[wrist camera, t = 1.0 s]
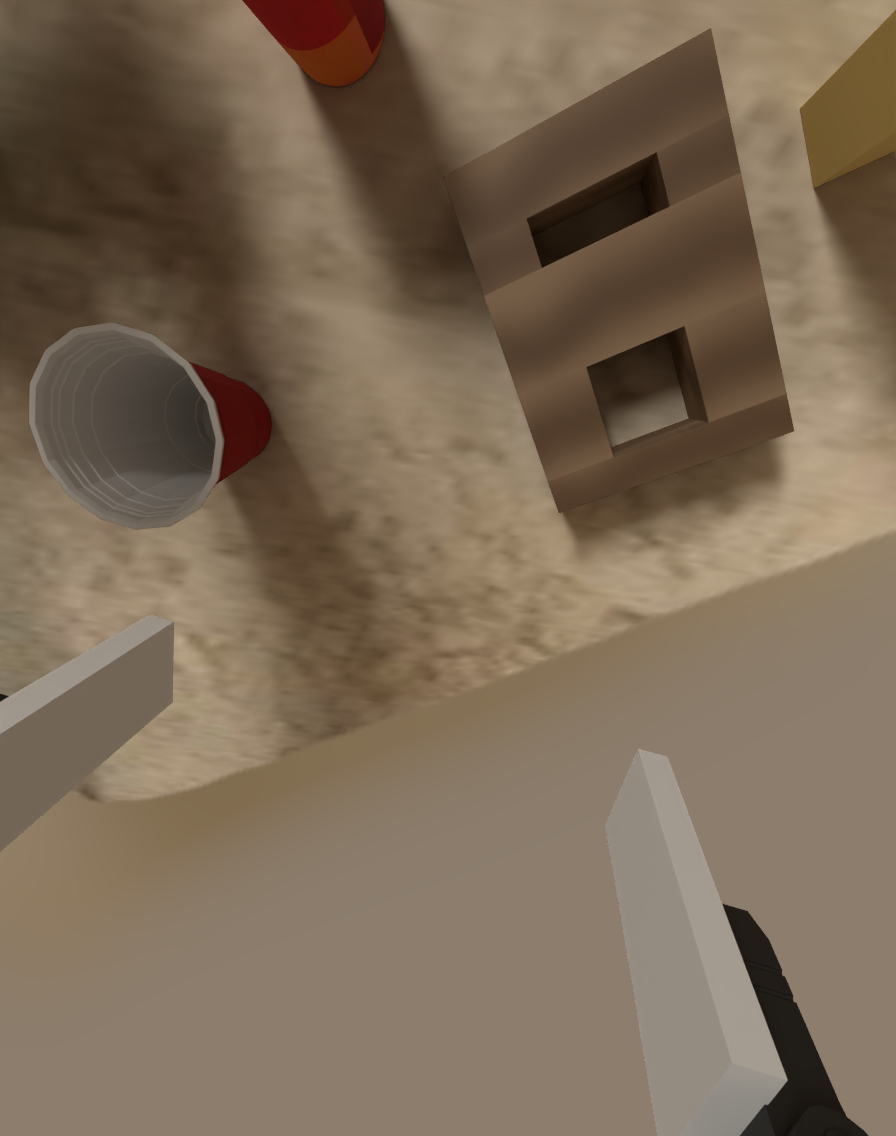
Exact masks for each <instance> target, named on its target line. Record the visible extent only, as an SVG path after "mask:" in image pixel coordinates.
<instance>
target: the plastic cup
mask: <svg viewBox="0 0 896 1136" xmlns="http://www.w3.org/2000/svg"><path fill="white" fill-rule="evenodd" d="M29 424H30V427H31V430H32V433H33V436H34V438H35V441H36V444H37V447H38V450H39V453H40V456H41V458H42V461H43V463H44V465H45V466H46V467H47V469H48V470H49V471H50V473H51V474H52V475H53V477H54V478H55V479H56V481H57V482H58V483H59V485H60V486H61V487H62V488H63V490H64V491H65V492H66V494H67V495H68V496H69V497H70V498H72V499H73V500H75V501H76V502H77V503H79V504H80V505H82V506H83V507H84V508H86V509H87V510H89V511H90V512H91V513H93V514H94V515H96V516H97V517H98V518H100V519H102V520H105V521H109V522H112V523H116V524H119V525H122V526H126V527H129V528H132V529H136V530H138V529H148V528H158V527H168V526H172V525H174V524H175V523H177V522H179V521H180V520H182V519H184V518H185V517H187V516H189V515H190V514H192V513H194V512H195V511H197V510H199V509H200V507H201V506H202V505H203V503H204V502H205V500H206V498H207V497H208V495H209V494H210V492H211V490H212V489H213V488H214V486H215V485H216V484H217V483H219V482H220V481H222V480H223V479H225V478H226V477H228V476H229V475H231V474H232V473H234V472H235V471H237V470H238V469H240V468H241V467H243V466H244V465H246V464H247V462H248V461H250V460H251V459H253V458H254V457H256V456H258V455H259V454H261V452H262V451H263V449H264V448H265V446H266V445H267V443H268V441H269V440H270V435H271V428H272V422H271V418H270V413H269V409H268V407H267V406H266V404H265V402H264V401H263V399H262V397H261V396H260V395H259V394H258V393H257V392H255V391H254V390H253V389H252V388H250V387H249V386H248V385H246V384H245V383H243V382H240V381H237V380H234V379H231V378H228V377H227V376H226V375H224V374H221V373H218V372H215V371H213V370H210V369H207V368H204V367H202V366H199V365H196V364H193V363H191V362H188V361H186V360H185V359H184V358H182V357H181V356H180V355H179V354H177V353H176V352H175V351H173V350H172V349H171V348H170V347H168V346H167V345H166V344H165V343H163V342H162V341H161V340H159V339H158V338H157V337H156V336H154V335H153V334H149V333H146V332H143V331H140V330H136V329H133V328H130V327H126V326H123V325H120V324H116V323H113V322H111V323H104V324H98V325H91V326H84V327H77V328H74V329H72V330H71V331H70V332H68V333H67V334H66V335H64V336H63V337H62V338H60V339H59V340H58V341H56V342H55V343H54V344H52V345H51V346H50V347H48V348H47V349H46V350H45V352H44V354H43V356H42V358H41V360H40V362H39V365H38V367H37V369H36V371H35V373H34V375H33V378H32V380H31V382H30V401H29Z"/></svg>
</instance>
